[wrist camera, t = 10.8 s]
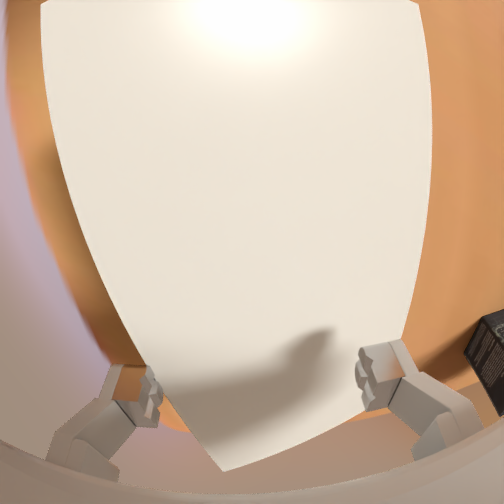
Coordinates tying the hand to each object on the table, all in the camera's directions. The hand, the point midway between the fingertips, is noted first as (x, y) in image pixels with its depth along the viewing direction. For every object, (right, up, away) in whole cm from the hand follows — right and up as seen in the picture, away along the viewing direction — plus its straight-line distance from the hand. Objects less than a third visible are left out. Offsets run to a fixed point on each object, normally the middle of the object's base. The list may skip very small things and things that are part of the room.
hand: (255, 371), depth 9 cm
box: (+30, -5, +15) cm, 34 cm away
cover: (+2, +2, +2) cm, 3 cm away
